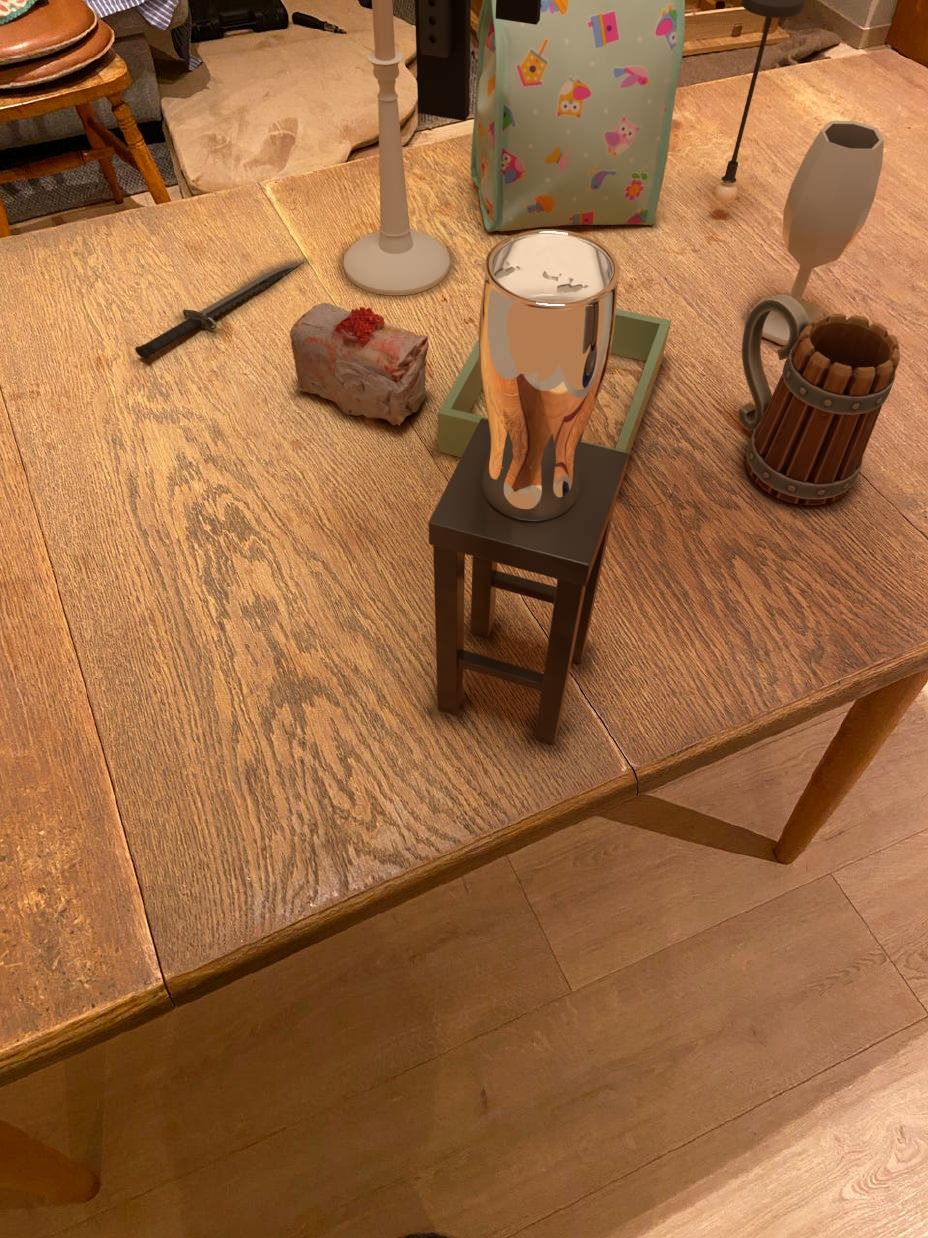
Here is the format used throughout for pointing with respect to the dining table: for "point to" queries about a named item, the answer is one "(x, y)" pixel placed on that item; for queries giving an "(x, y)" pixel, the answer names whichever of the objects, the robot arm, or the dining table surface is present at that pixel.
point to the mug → (814, 401)
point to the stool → (535, 546)
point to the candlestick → (393, 193)
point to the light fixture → (754, 80)
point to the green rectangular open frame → (630, 340)
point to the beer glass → (542, 364)
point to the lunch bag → (575, 112)
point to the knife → (212, 311)
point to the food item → (360, 362)
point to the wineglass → (827, 206)
